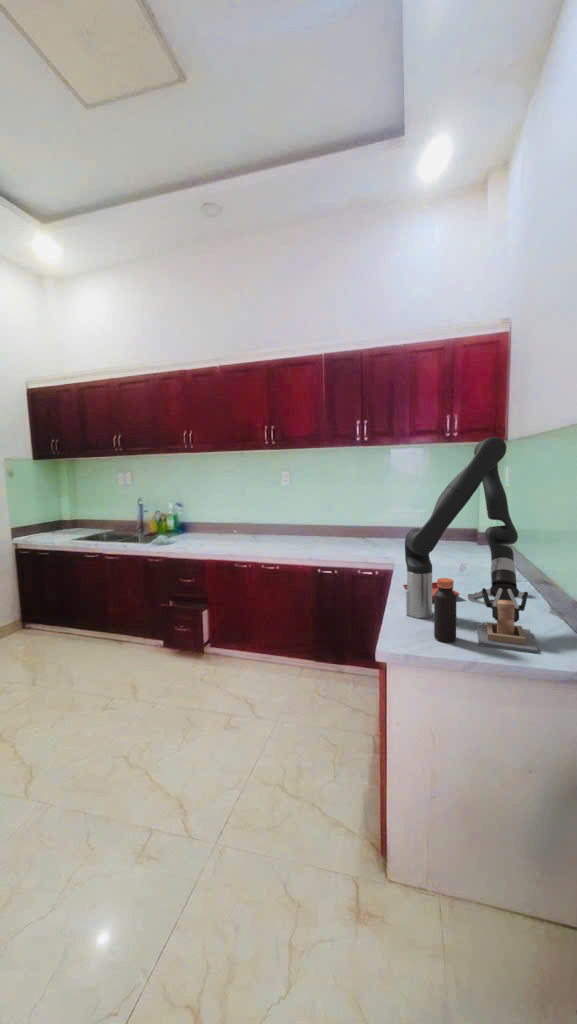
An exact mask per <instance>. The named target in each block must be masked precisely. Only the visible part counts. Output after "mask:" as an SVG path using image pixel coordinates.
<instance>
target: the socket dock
mask: <svg viewBox="0 0 577 1024" xmlns="http://www.w3.org/2000/svg"><path fill="white" fill-rule="evenodd" d="M476 628H477V629H476V631H477V640H478V647H479V646H480V647H488V648H495V649H503V650H510V651H517V652H524V653H532V654H538V652H539V649H538V647H537V644H536V642H535V639H534V637H533V635H532V632H531V630H530V629H525V628H524V629H523V626H522V625H515V624H514V635H505V634H497V622H488V621H487V622H486V624H482V623H477V624H476Z"/></svg>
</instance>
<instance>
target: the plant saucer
mask: <svg viewBox="0 0 577 1024" xmlns="http://www.w3.org/2000/svg"><path fill="white" fill-rule="evenodd" d="M402 587H403V588H404V590H406V591H407V584H402ZM437 591H438V586H437V581H436V582H432V602H434V594H435V593H436V592H437ZM452 591H453V592H454V593H455V595H456V598H457V597H458V596H459V595H460V594H461V593H460V592H458V591H456V590H455V589H452Z"/></svg>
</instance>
